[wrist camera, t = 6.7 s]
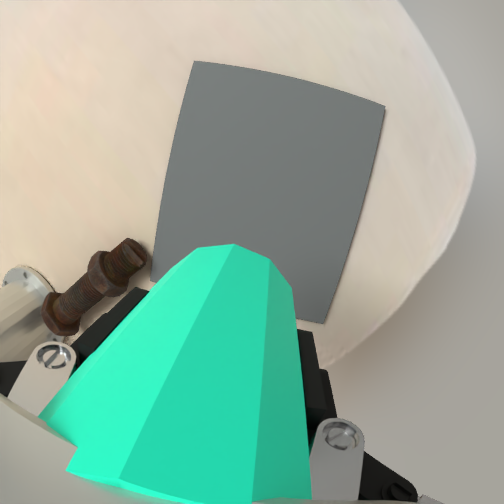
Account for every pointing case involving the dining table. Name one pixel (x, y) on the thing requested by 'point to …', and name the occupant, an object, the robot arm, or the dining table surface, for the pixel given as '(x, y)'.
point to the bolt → (93, 287)
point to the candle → (195, 389)
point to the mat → (268, 176)
